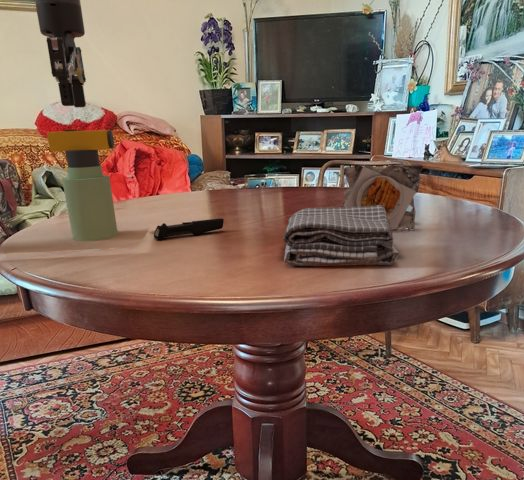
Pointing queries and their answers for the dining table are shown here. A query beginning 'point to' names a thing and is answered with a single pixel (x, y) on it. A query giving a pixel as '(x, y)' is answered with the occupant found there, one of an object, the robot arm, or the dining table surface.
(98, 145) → the bar
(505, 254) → the dining table surface
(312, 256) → the towel
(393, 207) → the meal
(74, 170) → the bottle
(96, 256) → the dining table surface
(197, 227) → the electric trimmer
